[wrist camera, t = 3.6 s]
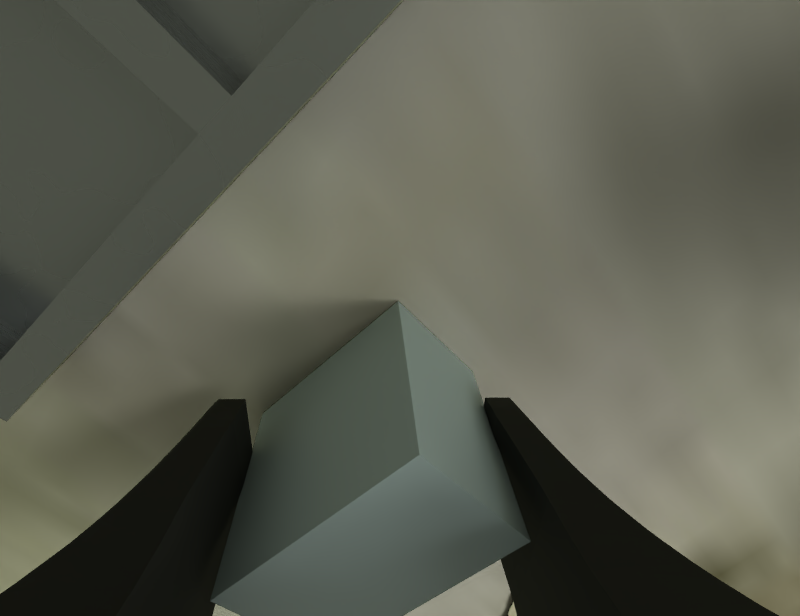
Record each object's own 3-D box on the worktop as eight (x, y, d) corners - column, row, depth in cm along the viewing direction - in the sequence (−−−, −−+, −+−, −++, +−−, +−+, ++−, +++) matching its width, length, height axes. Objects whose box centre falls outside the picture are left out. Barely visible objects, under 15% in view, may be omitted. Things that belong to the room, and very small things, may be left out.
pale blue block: (472, 371, 13) (531, 541, 8) (341, 468, 14) (331, 657, 10) (398, 301, 11) (419, 454, 7) (262, 413, 13) (210, 601, 8)
